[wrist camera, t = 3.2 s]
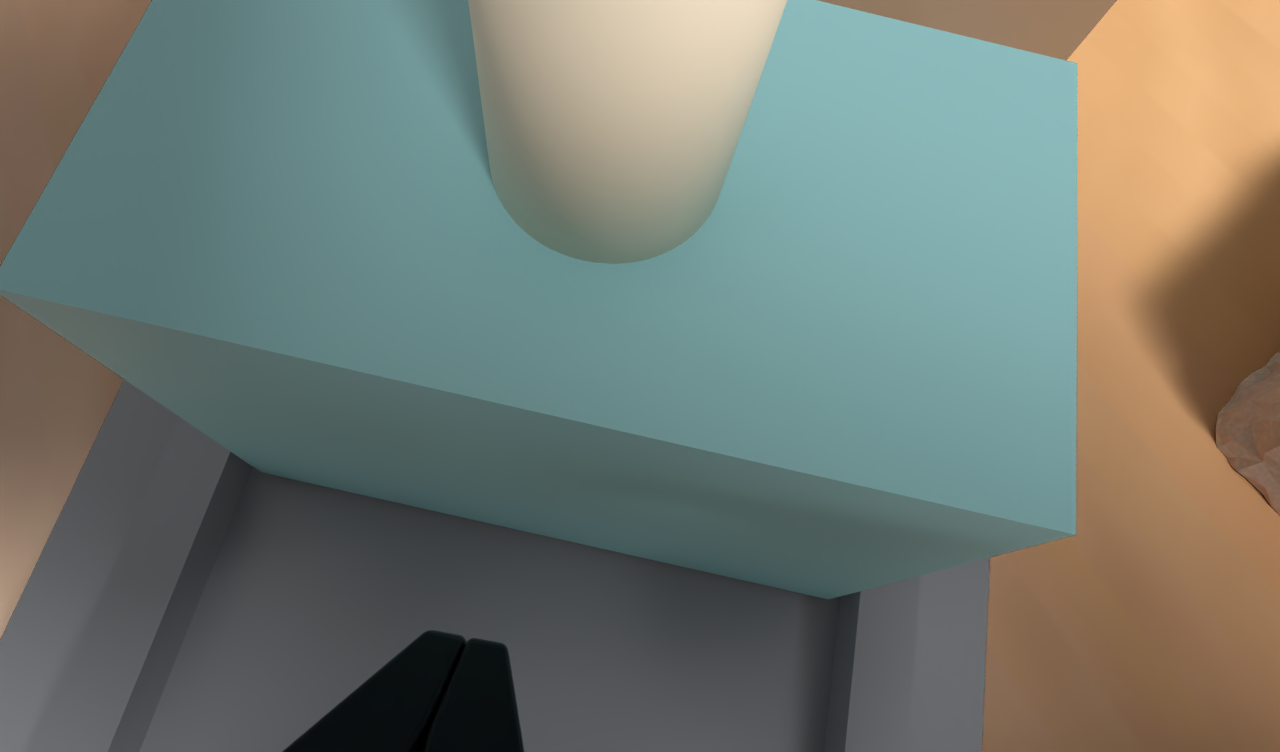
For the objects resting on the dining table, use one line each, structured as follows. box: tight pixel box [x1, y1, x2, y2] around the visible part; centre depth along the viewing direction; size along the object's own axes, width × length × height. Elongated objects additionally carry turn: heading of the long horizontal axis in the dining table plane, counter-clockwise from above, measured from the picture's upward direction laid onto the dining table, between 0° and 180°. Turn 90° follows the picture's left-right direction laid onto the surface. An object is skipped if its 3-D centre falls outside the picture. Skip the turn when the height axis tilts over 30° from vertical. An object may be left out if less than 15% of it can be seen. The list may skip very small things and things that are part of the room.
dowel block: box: [0, 0, 1077, 599], centre depth 9 cm, size 6×10×12 cm, turn 78°
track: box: [0, 0, 1117, 752], centre depth 14 cm, size 19×16×5 cm
